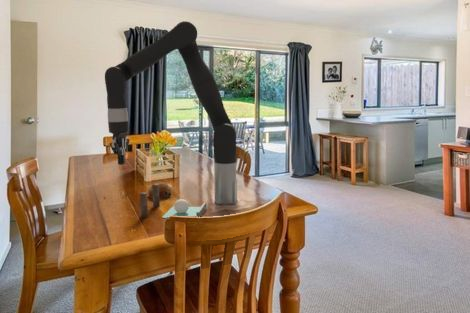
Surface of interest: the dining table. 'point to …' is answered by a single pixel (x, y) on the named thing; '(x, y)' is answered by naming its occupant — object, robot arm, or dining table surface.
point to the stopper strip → (201, 210)
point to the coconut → (161, 191)
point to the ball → (181, 206)
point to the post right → (156, 195)
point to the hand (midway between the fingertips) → (121, 164)
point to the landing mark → (190, 212)
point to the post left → (143, 205)
